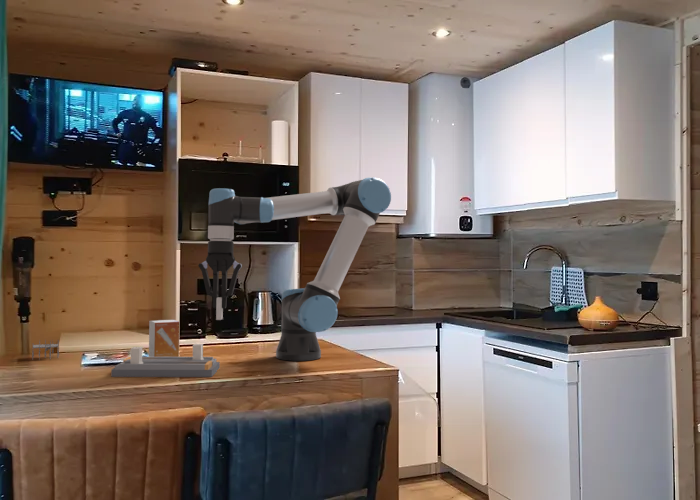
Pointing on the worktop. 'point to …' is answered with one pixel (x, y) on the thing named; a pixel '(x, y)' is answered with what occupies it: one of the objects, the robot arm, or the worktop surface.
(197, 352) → the tab
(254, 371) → the worktop surface
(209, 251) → the robot arm
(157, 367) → the switch board
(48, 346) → the building frame
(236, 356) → the worktop surface
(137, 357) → the tab
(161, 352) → the small box
